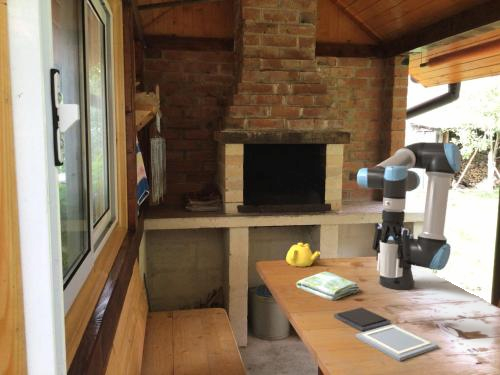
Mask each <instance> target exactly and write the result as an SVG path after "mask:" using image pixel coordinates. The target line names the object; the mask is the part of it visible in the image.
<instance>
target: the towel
mask: <svg viewBox="0 0 500 375" xmlns="http://www.w3.org/2000/svg"><path fill="white" fill-rule="evenodd" d="M295 286H296V287H297V289H300V290H303V291H305V292H307V293H309V294H313V295H315V296H318V297H320V298H323V299H326V300H328V301H329V300H330V301H337V300H338V299H340V298H344V297H347V296H348V295H351V294H356V293H357V292H358V291H359V290H360V286H358V283H357V282H355V281H352V280H349V279H346V278H344V277H342V276H340V275H337V274H335V273H332V272H329V271H322V272H321V271H320V272H318V273H316V274H314V275H313V274H312V275H310V276H308V277H304V278H303V279H300V280H298V281H297V282H296V283H295Z"/></svg>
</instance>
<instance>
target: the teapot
mask: <svg viewBox="0 0 500 375" xmlns="http://www.w3.org/2000/svg"><path fill="white" fill-rule="evenodd" d="M320 255H321V252H320V251H319V250H316V251H315V252H314V253H313V252H312V250H311V249H310V244H309V243H303V242H297V244H293V245H292V246H291V247H290V248H289V250H288V251H287V254H286V257H285V260H286V262H287V264H290V266H292V267H296V266H298V268H306V266H308V267H311V266H312V264H313V263H314V261H315V260H316V259H317V258H318V257H319V256H320Z"/></svg>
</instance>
